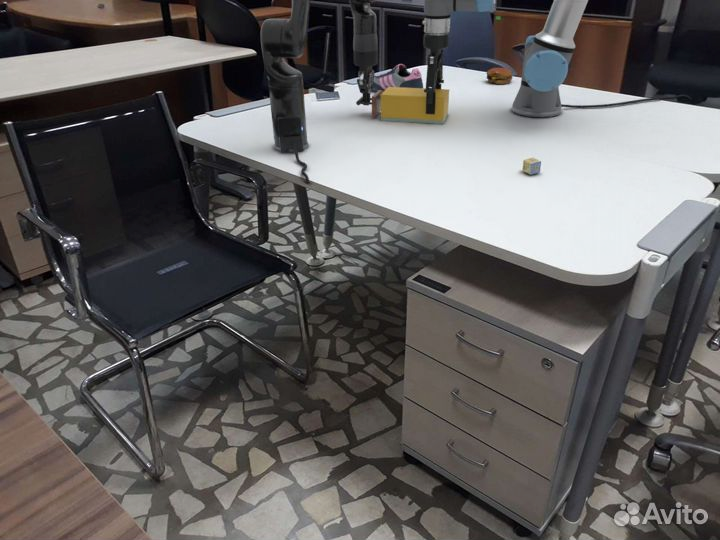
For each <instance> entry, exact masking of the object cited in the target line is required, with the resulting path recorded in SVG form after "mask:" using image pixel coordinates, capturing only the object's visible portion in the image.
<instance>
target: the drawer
mask: <svg viewBox="0 0 720 540" xmlns="http://www.w3.org/2000/svg"><path fill="white" fill-rule="evenodd" d="M381 94H382V90H378V91H376V92H375V93H374V94H373V95H372V96H371V97H370V102H363V95H362V96H361V97H360V98H358V100H357V101H356V102H355V105H357V106H361V105H363V104H369V106H370V105H371V117H377V115H378V114H379V113H381Z"/></svg>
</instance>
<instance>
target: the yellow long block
mask: <svg viewBox="0 0 720 540" xmlns="http://www.w3.org/2000/svg"><path fill="white" fill-rule="evenodd" d="M425 89H426V87H425V88H424V87H423V88H402V87H388V88H387V89H386V90H385V91H384V92H383V93H382V94H381V111H380V121H383V122H400V123H401V122H402V123H415V124H417V123H418V124H433V125H434V124H435V125H444V123H445V121H446V119H447V118H448V116H449V103H450V89H446V88H441V89H435V92H436V99H435V114H426V93H425V92H424V90H425Z"/></svg>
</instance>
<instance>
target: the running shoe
mask: <svg viewBox="0 0 720 540" xmlns="http://www.w3.org/2000/svg"><path fill="white" fill-rule="evenodd" d="M422 77H423V76H422V73H421V70H420V69H419V68H413V69H412V70H411V71H408V69H407V67H406V65H405V64H403V63H399V64H397V65H395V66H394V67H393V68H391V70H389V71H387V72H386V73H382V74H379V75H374V81H373V88H372V89H371V90H373V91H374V92H375V91H376V92H377V91H378V90H382V93H383V92H384V91H385V90H386V89H387V88H388V87H402V88H424V83H423V78H422Z"/></svg>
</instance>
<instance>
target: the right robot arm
mask: <svg viewBox="0 0 720 540" xmlns="http://www.w3.org/2000/svg"><path fill="white" fill-rule="evenodd" d="M588 2H589V0H553V2H552V4H551V7H550V10H549V13H548V15H547V19H546V20H545V24H544V27H543V29H542V30H541V31H540V32H538V33H536V34H534V35H529V36H527V38H526V40H525V44H524V55H523V63H522V73H521V80H520V86H519V89H518V91H517V94H516V95H515V98H514V100H513V103H512V106H511V111H512V112H513V113H514V114H516V115H519V116H522V117H528V118H552V117H556V116H559V115H561V113H562V108H570V109H571V108H572V109H573V108H574V109H591V108H592V109H593V108H594V109H595V108H608V107H616V106H622V105H623V106H624V105H628V104H629V105H630V104H636V103H642V102H648V101H649V102H650V101H661V100H675V99H679V98H680V99H681V98H685V99H687V100H689V101H691V100H692V98H691V97H690V96H689V95H687V94H678V95H674V96H673V95H672V96H658V97H648V98H640V99H634V100H628V101H627V100H626V101H620V102H613V103H605V104H588V105H587V104H586V105H581V104H580V105H576V104H574V105H573V104H562V101H561V95H560V89H559V88H560V86H561V85H562V84H563V83H564V81H565V80H566V78H567V76H568V74H569V73H568V71H569V64H570V62H571V59H572V57H573V54H574V52H575V49H576V48H577V47H576V44H575V41H574V37H575V34H576V31H577V30H578V27H579V24H580V23H581V19H582V17H583V14H584V12H585V10H586V7H587V4H588ZM494 3H495V0H424V17H423V18H424V19H423V20H422V22H421V24H422V25H424V26H423V32H424V35H423V43H422V44H423V45H422V46H423V48H425V49H427V50H428V49H429V50H430V51H429V52H430V53H429V54H427V58H426V59H427V65H426V66H427V67H426V78H425V88H426V89H425V90H424V92H425V93H426V114H435V99H436V92H435V89H442V84H444V83H445V79H444V76H443V74H444V73H443V72H444V71H443V70H444V67H443V66H444V64H443V63H444V61H443V60H444V50H446V49H447V48H449V46H450V34H449V33H450V31H451V13H452V12H454V13H455V12H475V13H476V12H477V13H482V12H483V13H485V12H491V11H492V10H493V9H494Z"/></svg>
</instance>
